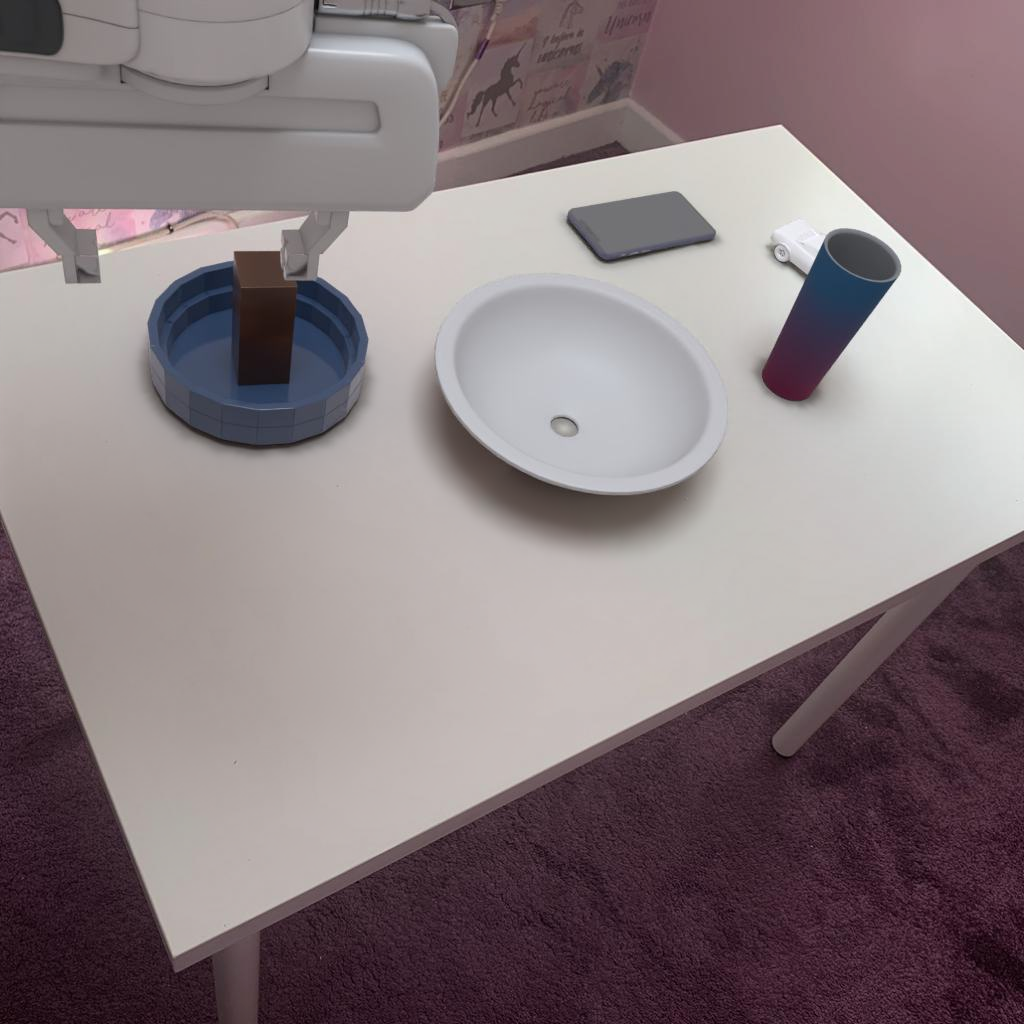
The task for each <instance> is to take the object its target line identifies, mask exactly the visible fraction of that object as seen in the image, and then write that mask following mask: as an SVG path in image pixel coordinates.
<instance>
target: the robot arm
mask: <svg viewBox="0 0 1024 1024" xmlns="http://www.w3.org/2000/svg"><path fill="white" fill-rule="evenodd" d="M430 13H431V14H433V15H430ZM459 44H460V32H459V27H458V23H457V22H456V20H455V18H454V16H453V14H452V13H451V12H450V11H449V10H448V9H447V8H446V7H445V6H443V5H442V4H440V3H438V2H435V1H433V0H0V209H21V210H22V209H25V213H26V220H27V225H28V228H30V229H31V230H32V231H33V232H34V233H35V234H36V235H37V236H38V237H39V238H40V239H41V240H42V241H43V242H44V243H45V245H47V246H48V248H50V250H52V251H53V252H54V253H55V254H56V255H57V256H60V257H61V263H62V269H63V277H64V283H65V284H66V285H72V284H73V285H75V284H77V285H83V284H84V285H86V284H102V279H101V278H102V277H101V268H100V266H101V265H100V256H99V247H98V245H99V244H98V239H97V237H98V236H97V229H95V228H76V226H75V225H74V224H73V223H72V221H71V220H70V219H69V218H68V217H67V215H66V214H65V212H64V211H65V210H146V211H148V210H149V211H150V210H153V211H155V210H156V211H158V210H159V211H173V210H174V211H262V212H263V211H264V212H265V211H271V212H272V211H273V212H274V211H275V212H310V213H309V214H308V215H307V217H306V219H305V220H304V221H303V223H302V224H301V226H300V227H299V228H298V229H281V235H280V236H281V237H280V243H281V247H280V250H279V251H280V261H281V267H282V269H283V270H284V272H283V276H284V280H300V281H306V280H316V279H317V277H318V273H319V264H320V255H324V253H325V252H326V251H327V250H328V249H329V248H330V247H331V246H332V244H333V243H334V242H335V241H336V240H337V239H338V238H339V237H340V236H341V234H343V232H345V230H346V229H347V228H348V225H349V218H350V212H376V213H377V212H378V213H379V212H381V213H385V212H386V213H406V212H413V211H414V210H416V209H417V208H418V207H420V206H421V205H422V204H423V203H425V201H426V200H427V199H428V198H429V197H430V196H431V195H432V194H433V193H434V190H435V189H434V188H435V185H436V177H437V171H438V159H439V148H440V99H439V97H440V96H439V95H441V94H442V93H443V92H444V91H445V90H446V88H447V87H448V86H449V84H450V83H451V80H452V77H453V74H454V70H455V64H456V59H457V54H458V49H459Z"/></svg>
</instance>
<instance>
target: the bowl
mask: <svg viewBox="0 0 1024 1024" xmlns="http://www.w3.org/2000/svg"><path fill="white" fill-rule="evenodd" d="M233 263H234V260H227V261H222V262H219V263H215V264H210V265H206V266H200V267H199V268H196V269H195V270H192V271H191V272H188V273H187V274H185V275H183V276H181V277H179V278H177V279H175V280H173V281H172V283H170V284H169V286H168V287H167V288H166V289H164V291H163V292H162V293H161V294H160V295H158V297H157V298H156V299H155V300H154V303H153V306H152V307H151V308H152V309H151V311H150V313H149V317H148V319H147V323H146V324H147V338H148V339H147V340H148V358H149V367H150V376H151V383H152V385H153V387H154V389H155V390H156V391H157V394H158V395H159V397H160V398H161V401H163V403H164V405H165V407H167V408H168V409H169V410H170V411H171V412H173V413H174V414H175V415H176V416H177V417H179V418H180V419H181V420H182V421H184V422H185V423H186V424H188V425H189V426H190V427H192V428H195V429H196V430H199V431H201V432H203V433H205V434H208V435H211V436H213V437H215V438H218V439H220V440H223V441H229V442H236V443H241V444H248V445H253V446H265V445H266V446H267V445H280V444H291V443H296V442H299V441H302V440H305V439H307V438H311V437H314V436H318V435H321V434H323V433H324V432H326V431H327V430H329V429H331V428H332V427H333V426H334V425H336V424H338V423H339V422H340V421H342V420H343V419H344V418H346V416H347V415H348V414H349V412H350V411H351V410H352V408H353V406H354V405H355V403H356V402H357V400H358V399H359V397H360V395H361V390H362V389H361V388H362V383H363V379H364V378H363V377H364V373H365V372H364V371H365V365H366V360H367V354H368V346H369V336H368V332H367V329H366V324H365V322H364V318H363V316H362V314H361V313H360V311H358V309H357V308H356V306H355V305H354V303H352V301H351V300H350V298H349V297H348V296H347V295H346V294H344V293H343V292H342V291H340V290H339V289H337V288H336V287H335V286H333V285H332V284H331V283H329V282H328V281H326V280H325V279H324V278H322V277H319V276H317V279H316V280H306V281H300V280H296V283H297V298H296V310H295V321H294V333H293V345H292V357H291V369H290V380H289V383H286V384H264V385H242V386H238V384H237V378H236V373H235V367H234V361H233V356H232V350H231V346H232V304H233Z"/></svg>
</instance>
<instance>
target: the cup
mask: <svg viewBox="0 0 1024 1024" xmlns="http://www.w3.org/2000/svg"><path fill="white" fill-rule="evenodd" d="M825 235H826V237H825V239H824V241H823V243H822V245H821V248H820V250H819V252H818V254H817V256H816V258H815V260H814V262H813V265H812V267H811V269H810V271H809V273H808V275H807V274H806V277H805V279H804V282H803V283H802V286H801V288H800V290H799V293H798V294H797V296H796V299H795V301H794V303H793V305H792V307H791V308H790V311H789V314H788V315H787V318H786V319H785V321H784V323H783V326H782V328H781V330H780V332H779V334H778V337H777V338H776V341H775V343H774V345H773V347H772V349H771V352H770V354H769V356H768V358H767V360H766V363H765V364H764V366H763V368H762V372H761V377H762V381H763V382H764V384H765V385H766V387H767V388H768V389H769V390H770V391H771V392H772V393H774V394H775V395H777V396H778V397H780V398H783V399H785V400H789V401H805V400H806V399H808V398H810V397H811V395H812V394H813V393H814V391H815V390H816V389H817V388H818V386H819V384H821V382H822V381H823V380H824V378H825V377H826V376H827V374H828V373H829V371H830V370H831V368H832V367H833V366H834V365H835V363H836V362H837V361H838V359H839V358H840V356H841V355H842V354H843V352H844V351H845V349H847V347H848V346H849V344H850V342H851V341H852V340H853V339H854V337H855V336H856V335H857V333H858V332H859V330H861V328H862V327H863V325H864V324H865V322H866V321H867V320H868V319H869V317H870V316H871V315H872V313H873V312H874V311H875V309H876V307H877V306H878V305H879V304H880V303H881V301H882V300H883V298H884V297H885V296H886V294H887V293H888V292H889V290H890V289H891V288H892V286H893V285H894V283H895V282H897V279H898V278H899V277H900V275H901V272H902V263H901V260H900V258H899V257H898V255H897V253H896V252H895V251H894V250H893V248H891V246H889V245H888V244H887V243H886V242H884V240H881V239H880V238H878V237H877V236H876V235H873V234H871V233H868V232H865V231H863V230H860V229H856V228H850V227H849V228H848V227H845V228H844V227H842V228H836V229H833V230H831V231H829V232H828V233H827V234H825Z"/></svg>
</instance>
